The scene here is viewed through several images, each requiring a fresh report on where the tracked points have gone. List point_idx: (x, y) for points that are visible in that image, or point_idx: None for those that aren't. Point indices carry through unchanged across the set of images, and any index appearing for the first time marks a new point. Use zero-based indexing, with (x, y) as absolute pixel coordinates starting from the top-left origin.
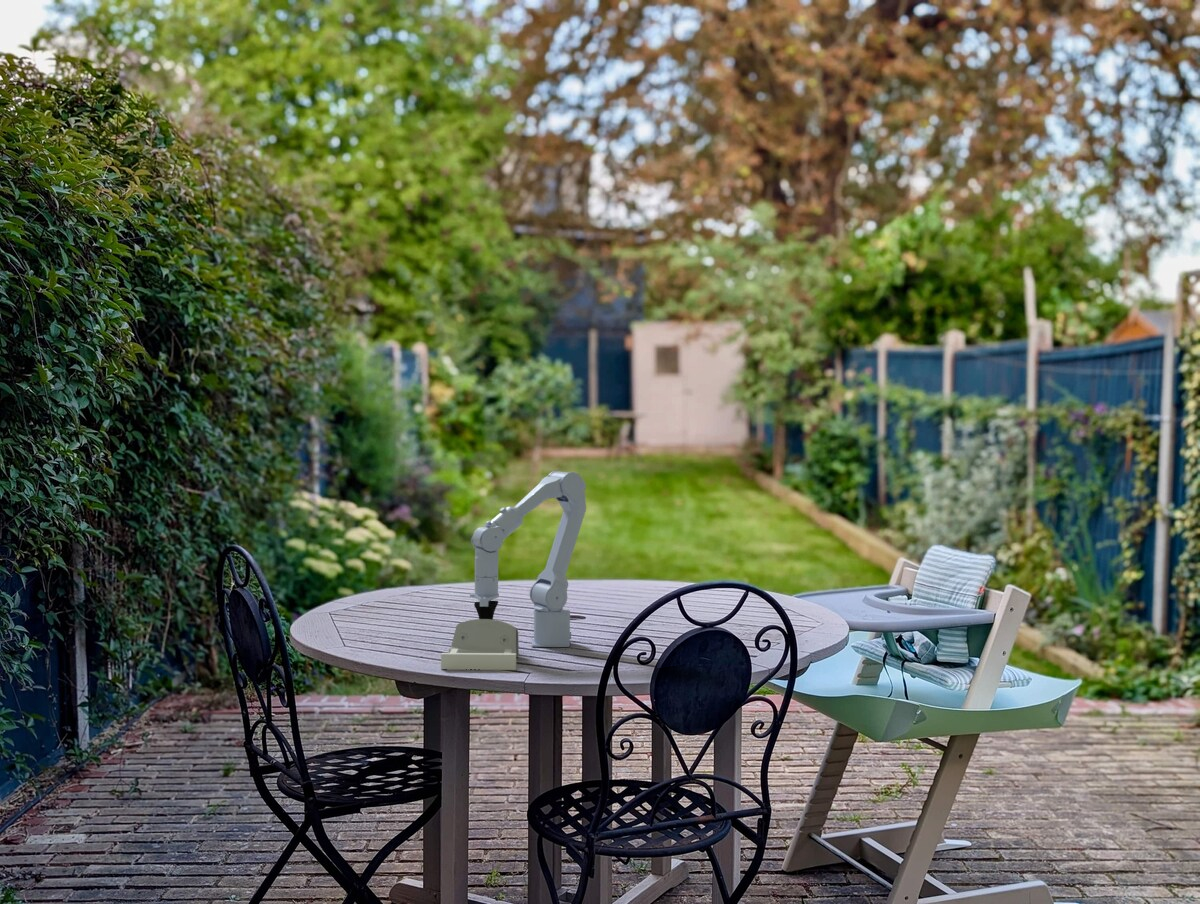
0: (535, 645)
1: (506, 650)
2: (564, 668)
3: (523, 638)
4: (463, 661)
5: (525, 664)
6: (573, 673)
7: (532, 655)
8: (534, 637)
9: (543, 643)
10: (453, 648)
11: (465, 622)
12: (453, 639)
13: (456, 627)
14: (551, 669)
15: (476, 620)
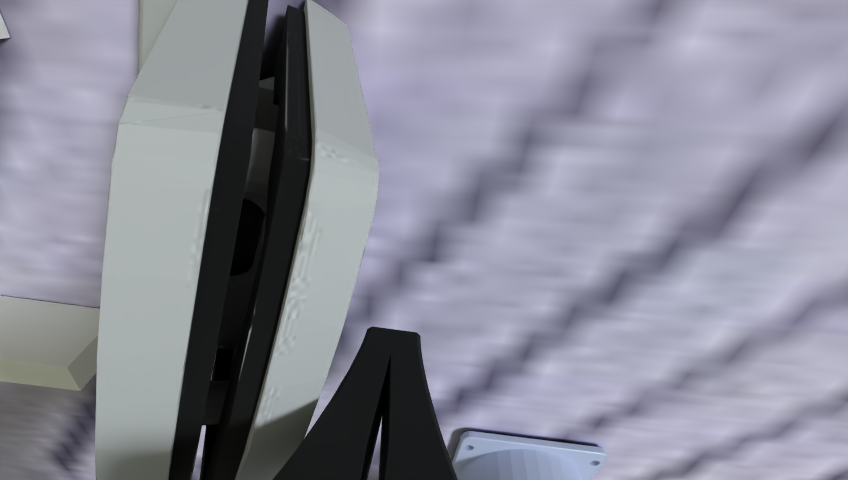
0: (460, 445)
1: (31, 368)
2: (82, 455)
3: (697, 425)
4: None
5: None
6: (16, 462)
7: None
8: (516, 476)
9: (463, 472)
10: (159, 5)
11: (107, 264)
12: (170, 14)
13: (130, 90)
14: (46, 427)
15: (99, 405)
